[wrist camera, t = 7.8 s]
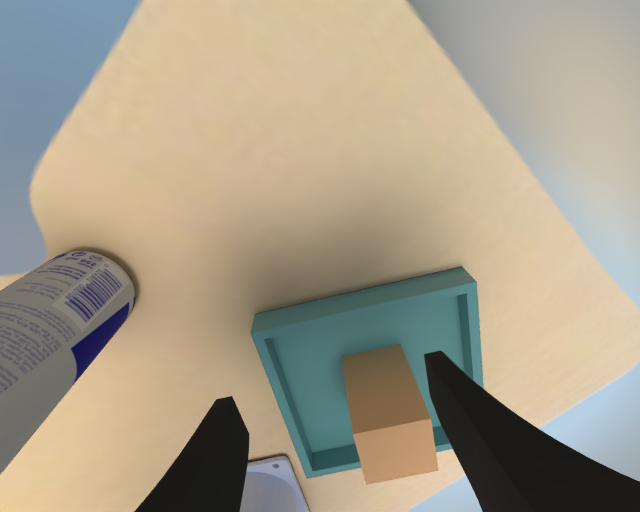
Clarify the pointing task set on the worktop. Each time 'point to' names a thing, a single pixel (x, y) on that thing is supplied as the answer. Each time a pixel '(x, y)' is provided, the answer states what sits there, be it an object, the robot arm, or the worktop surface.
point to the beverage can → (54, 336)
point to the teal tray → (358, 336)
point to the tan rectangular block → (388, 415)
